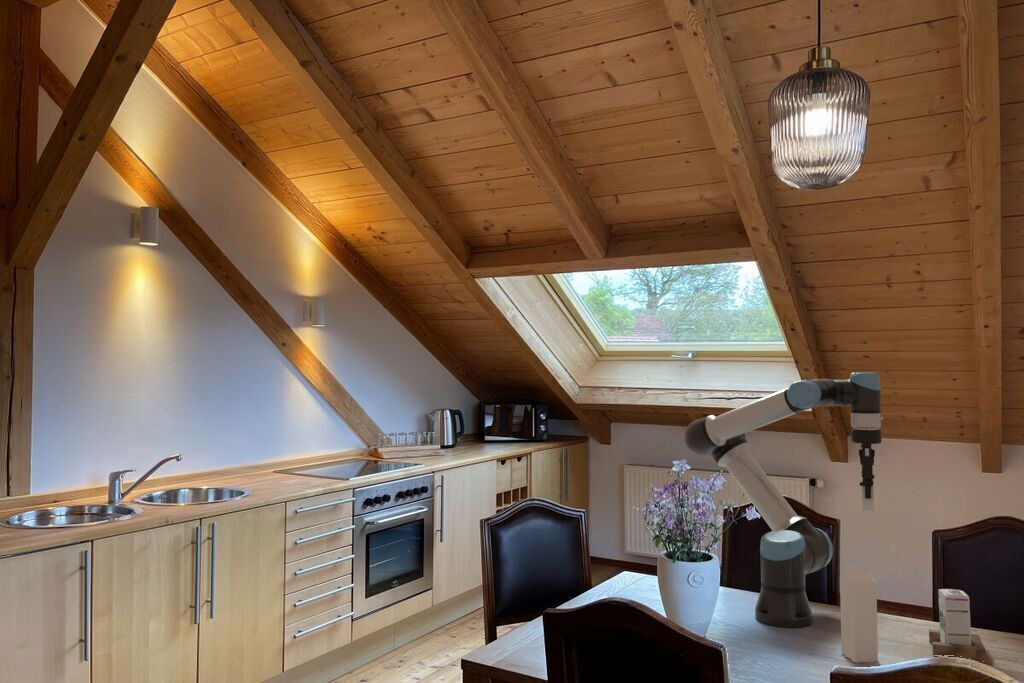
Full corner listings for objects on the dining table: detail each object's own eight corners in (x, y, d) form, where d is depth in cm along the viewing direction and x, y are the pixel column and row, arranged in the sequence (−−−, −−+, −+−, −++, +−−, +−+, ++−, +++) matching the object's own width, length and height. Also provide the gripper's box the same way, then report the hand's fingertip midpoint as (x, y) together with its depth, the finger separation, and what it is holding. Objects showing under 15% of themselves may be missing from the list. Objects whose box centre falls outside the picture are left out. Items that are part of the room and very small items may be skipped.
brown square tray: (933, 656, 190) (933, 644, 190) (929, 641, 200) (928, 629, 200) (986, 663, 185) (985, 650, 185) (979, 646, 196) (978, 634, 196)
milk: (878, 662, 186) (877, 568, 187) (854, 663, 186) (853, 569, 186) (863, 652, 193) (862, 562, 193) (840, 653, 192) (839, 563, 192)
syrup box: (972, 656, 189) (971, 596, 190) (945, 654, 191) (944, 594, 191) (965, 648, 195) (963, 589, 195) (938, 646, 196) (937, 588, 197)
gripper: (882, 432, 203) (884, 515, 202) (879, 425, 226) (881, 499, 225) (851, 431, 206) (852, 513, 205) (851, 424, 229) (852, 498, 228)
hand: (867, 506), depth 215 cm, fingers open, 13 cm apart
